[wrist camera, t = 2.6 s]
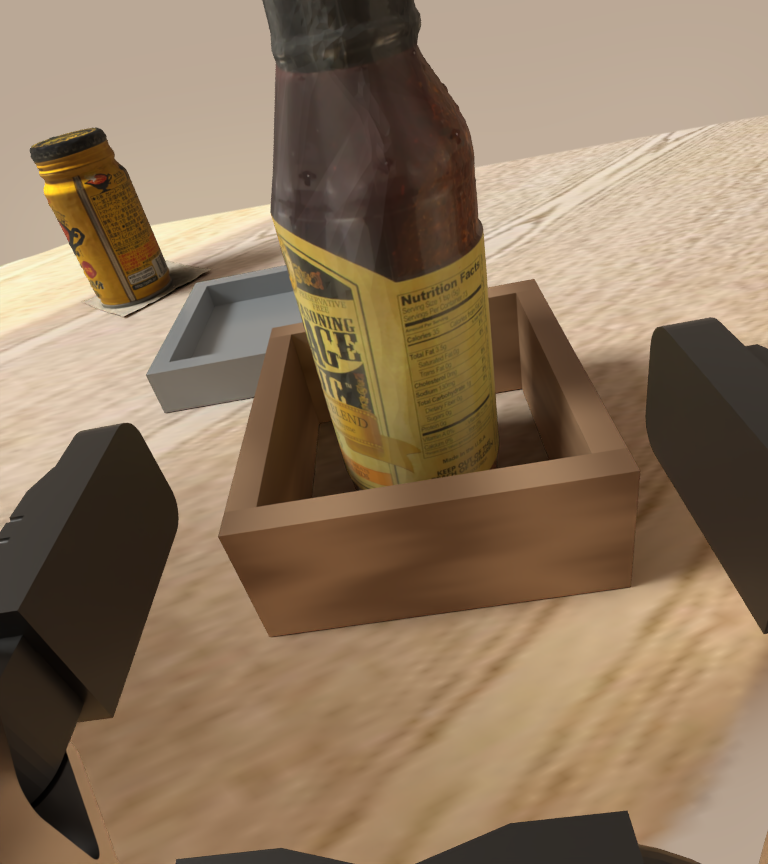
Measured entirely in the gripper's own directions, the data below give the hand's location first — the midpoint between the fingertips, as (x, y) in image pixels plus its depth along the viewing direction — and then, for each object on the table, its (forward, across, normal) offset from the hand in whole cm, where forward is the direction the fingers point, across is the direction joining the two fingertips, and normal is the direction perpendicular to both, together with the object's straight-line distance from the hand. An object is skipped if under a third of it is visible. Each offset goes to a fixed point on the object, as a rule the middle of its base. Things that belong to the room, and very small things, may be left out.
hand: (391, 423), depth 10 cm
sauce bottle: (+11, 0, +12) cm, 16 cm away
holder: (+11, 0, +11) cm, 16 cm away
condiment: (+40, +21, +11) cm, 47 cm away
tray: (+26, +8, +11) cm, 30 cm away
